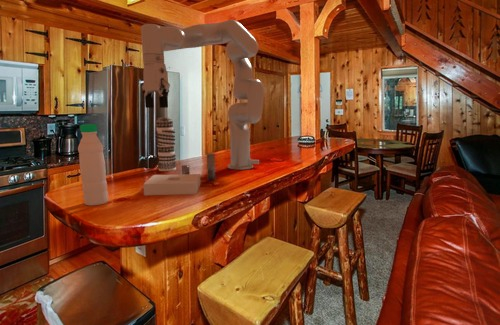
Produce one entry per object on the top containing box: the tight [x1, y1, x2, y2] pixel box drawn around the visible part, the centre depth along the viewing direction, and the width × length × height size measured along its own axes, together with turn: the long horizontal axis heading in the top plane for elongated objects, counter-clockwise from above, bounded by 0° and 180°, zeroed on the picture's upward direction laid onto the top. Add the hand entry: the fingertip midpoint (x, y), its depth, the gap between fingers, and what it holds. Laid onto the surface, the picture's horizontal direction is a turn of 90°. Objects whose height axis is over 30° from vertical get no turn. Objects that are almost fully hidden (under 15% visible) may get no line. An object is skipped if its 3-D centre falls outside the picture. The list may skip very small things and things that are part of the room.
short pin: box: [181, 164, 191, 174], centre depth 128 cm, size 3×3×6 cm
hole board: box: [143, 173, 201, 196], centre depth 111 cm, size 18×14×4 cm
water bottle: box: [77, 123, 109, 207], centre depth 94 cm, size 7×7×25 cm
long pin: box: [206, 152, 216, 182], centre depth 124 cm, size 3×3×11 cm
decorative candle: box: [154, 117, 177, 172], centre depth 145 cm, size 9×9×25 cm
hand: (156, 107), depth 115 cm, fingers open, 9 cm apart
